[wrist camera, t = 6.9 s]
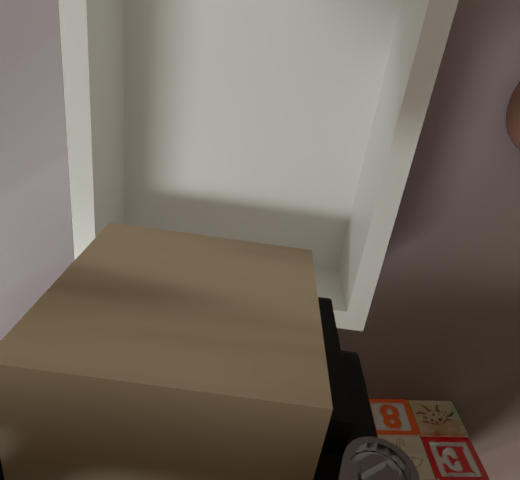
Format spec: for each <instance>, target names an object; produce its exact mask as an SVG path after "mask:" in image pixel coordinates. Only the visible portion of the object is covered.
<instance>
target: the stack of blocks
mask: <svg viewBox="0 0 520 480" xmlns="http://www.w3.org/2000/svg"><path fill="white" fill-rule="evenodd" d="M369 402H370V406H371V411H372V415H373V419H374V424H375V428H376V432H377V436H378V438H382V439H385V440H387V441H389V442H391V443H393V444H395V445H396V446H397V447H399V448H400V449H401V450H403V451H404V452H405V453H406V454H407V455H408V457H409V458H410V459H411V460H412V461H413V463H414V465H415V467H416V469H417V471H418V473H419V478H420V480H490V479H489V477H488V475H487V473H486V471H485V469H484V467H483V465H482V463H481V461H480V459H479V457H478V455H477V453H476V451H475V449H474V447H473V445H472V443H471V441H470V440H469V439H468V434H467V431H466V429H465V427H464V425H463V423H462V421H461V419H460V417H459V415H458V413H457V411H456V409H455V407H454V405H453V403H452V401H420V400H406V399H369Z"/></svg>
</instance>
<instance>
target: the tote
mask: <svg viewBox="0 0 520 480" xmlns="http://www.w3.org/2000/svg"><path fill="white" fill-rule="evenodd" d="M458 1H459V0H59V15H60V31H61V47H62V63H63V79H64V95H65V112H66V128H67V144H68V160H69V176H70V192H71V208H72V225H73V241H74V257H75V260H76V258H77V257H78V256H79V255H80V254H81V253H82V252H83V251H84V250H85V249H86V248H87V246H88V245H89V244H90V243H91V242H92V241H93V240H94V239H95V238H96V237H97V235H98V234H99V233H100V232H101V231H102V230H103V229H104V228H105V227H106V226H107V225H108V223H109V222H114V223H121V224H128V225H135V226H142V227H150V228H157V229H164V230H171V231H178V232H186V233H193V234H200V235H207V236H214V237H222V238H229V239H236V240H243V241H250V242H258V243H265V244H272V245H279V246H286V247H294V248H301V249H308V250H312V257H313V264H314V272H315V279H316V287H317V294H318V297H323V298H330V299H331V300H332V305H333V311H334V316H335V322H336V327H337V328H342V329H349V330H356V331H363V330H364V326H365V323H366V319H367V316H368V312H369V309H370V305H371V302H372V299H373V295H374V292H375V288H376V285H377V281H378V278H379V274H380V271H381V267H382V264H383V261H384V257H385V254H386V250H387V247H388V243H389V240H390V236H391V233H392V229H393V226H394V222H395V219H396V216H397V212H398V209H399V205H400V202H401V198H402V195H403V191H404V188H405V184H406V181H407V178H408V174H409V171H410V167H411V164H412V160H413V157H414V153H415V150H416V146H417V143H418V140H419V136H420V133H421V129H422V126H423V122H424V119H425V115H426V112H427V108H428V105H429V101H430V98H431V95H432V91H433V88H434V84H435V81H436V77H437V74H438V70H439V67H440V63H441V60H442V57H443V53H444V50H445V46H446V43H447V39H448V36H449V32H450V29H451V25H452V22H453V19H454V15H455V12H456V8H457V5H458Z"/></svg>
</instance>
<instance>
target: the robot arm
mask: <svg viewBox="0 0 520 480" xmlns="http://www.w3.org/2000/svg"><path fill="white" fill-rule="evenodd" d="M318 302H319V309H320V316H321V324H322V331H323V339H324V346H325V354H326V361H327V369H328V376H329V383H330V391H331V398H332V406H333V411H332V414H331V418H330V421H329V425H328V429H327V432H326V436H325V439H324V443H323V446H322V450H321V453H320V457H319V460H318V464H317V467H316V471H315V475H314V478H313V480H420V478H419V473H418V471H417V469H416V467H415V465H414V463H413V461H412V460H411V459H410V458H409V457H408V455H407V454H406V453H405V452H404V451H403V450H401V449H400V448H399V447H397V446H396V445H395V444H393V443H391V442H389V441H387V440H385V439H382V438H378V436H377V432H376V428H375V424H374V419H373V415H372V411H371V406H370V402H369V398H368V394H367V389H366V385H365V381H364V377H363V372H362V368H361V364H360V359H359V356H358V354H357V353H355V352H348V351H341V349H340V344H339V338H338V333H337V327H336V322H335V316H334V311H333V305H332V300H331V299H330V298H323V297H318ZM0 480H4V475H3V469H2V464H1V459H0Z"/></svg>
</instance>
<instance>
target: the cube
mask: <svg viewBox="0 0 520 480" xmlns="http://www.w3.org/2000/svg"><path fill="white" fill-rule="evenodd" d="M332 411H333V406H332V398H331V391H330V383H329V376H328V369H327V361H326V354H325V346H324V339H323V331H322V324H321V316H320V309H319V302H318V294H317V287H316V279H315V272H314V264H313V257H312V250H308V249H301V248H294V247H286V246H279V245H272V244H265V243H258V242H250V241H243V240H236V239H229V238H222V237H214V236H207V235H200V234H193V233H186V232H178V231H171V230H164V229H157V228H150V227H142V226H135V225H128V224H121V223H114V222H109V223H108V225H107V226H106V227H105V228H104V229H103V230H102V231H101V232H100V233H99V234H98V235H97V237H96V238H95V239H94V240H93V241H92V242H91V243H90V244H89V245H88V246H87V248H86V249H85V250H84V251H83V252H82V253H81V254H80V255H79V256H78V257H77V258H76V260H75V261H74V262H73V263H72V264H71V265H70V266H69V267H68V268H67V269H66V270H65V272H64V273H63V274H62V275H61V276H60V277H59V278H58V279H57V280H56V281H55V282H54V284H53V285H52V286H51V287H50V288H49V289H48V290H47V291H46V292H45V293H44V295H43V296H42V297H41V298H40V299H39V300H38V301H37V302H36V303H35V304H34V305H33V307H32V308H31V309H30V310H29V311H28V312H27V313H26V314H25V315H24V316H23V317H22V319H21V320H20V321H19V322H18V323H17V324H16V325H15V326H14V327H13V328H12V329H11V331H10V332H9V333H8V334H7V335H6V336H5V337H4V338H3V339H2V340H1V341H0V459H1V464H2V469H3V475H4V480H313V478H314V475H315V471H316V467H317V464H318V460H319V457H320V453H321V450H322V446H323V443H324V439H325V436H326V432H327V429H328V425H329V421H330V418H331V414H332Z"/></svg>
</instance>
